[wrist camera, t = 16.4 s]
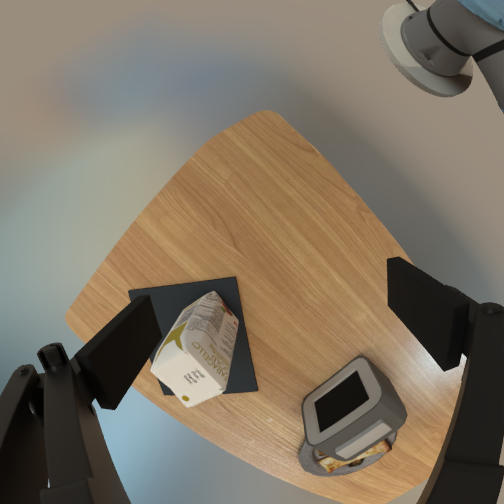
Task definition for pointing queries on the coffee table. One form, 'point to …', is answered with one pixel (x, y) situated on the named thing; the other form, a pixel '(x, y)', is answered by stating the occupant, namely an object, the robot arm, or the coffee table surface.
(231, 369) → the drinks mat
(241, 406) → the coffee table surface
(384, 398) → the alarm clock
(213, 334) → the juice carton
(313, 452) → the food plate
